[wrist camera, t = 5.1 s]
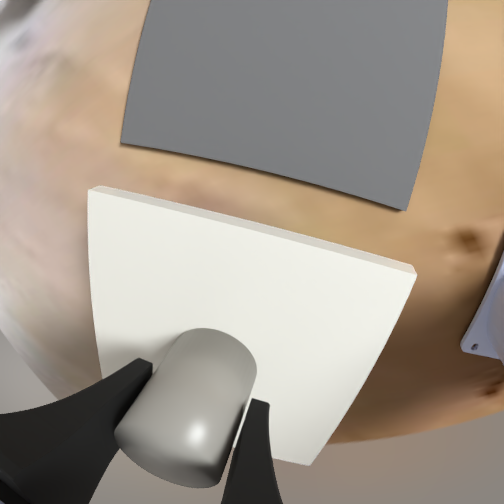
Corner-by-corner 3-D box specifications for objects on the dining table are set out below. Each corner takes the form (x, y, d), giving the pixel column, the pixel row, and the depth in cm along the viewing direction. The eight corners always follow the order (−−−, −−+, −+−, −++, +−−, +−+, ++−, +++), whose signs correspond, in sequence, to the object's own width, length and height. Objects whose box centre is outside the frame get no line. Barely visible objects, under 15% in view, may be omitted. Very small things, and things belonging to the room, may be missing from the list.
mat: (447, -42, 9) (449, -45, 8) (404, 209, 14) (405, 211, 14) (184, -80, 11) (182, -83, 10) (124, 142, 16) (120, 142, 16)
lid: (412, 265, 10) (464, 384, 5) (311, 454, 15) (295, 544, 10) (100, 185, 12) (-17, 234, 7) (112, 388, 17) (60, 457, 11)
